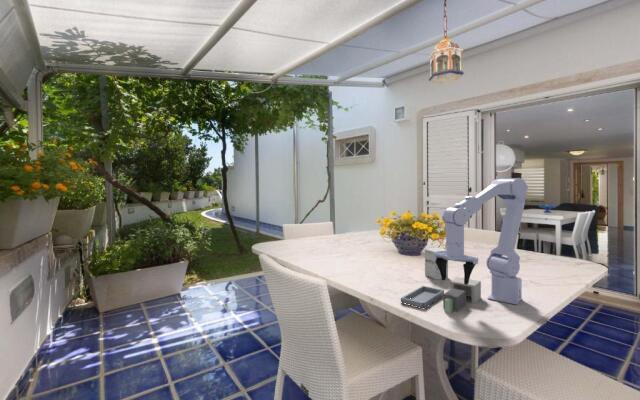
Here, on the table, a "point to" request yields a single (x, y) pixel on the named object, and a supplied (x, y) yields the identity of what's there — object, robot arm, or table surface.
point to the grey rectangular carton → (454, 300)
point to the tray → (422, 296)
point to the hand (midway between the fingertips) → (455, 281)
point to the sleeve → (468, 288)
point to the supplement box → (433, 263)
